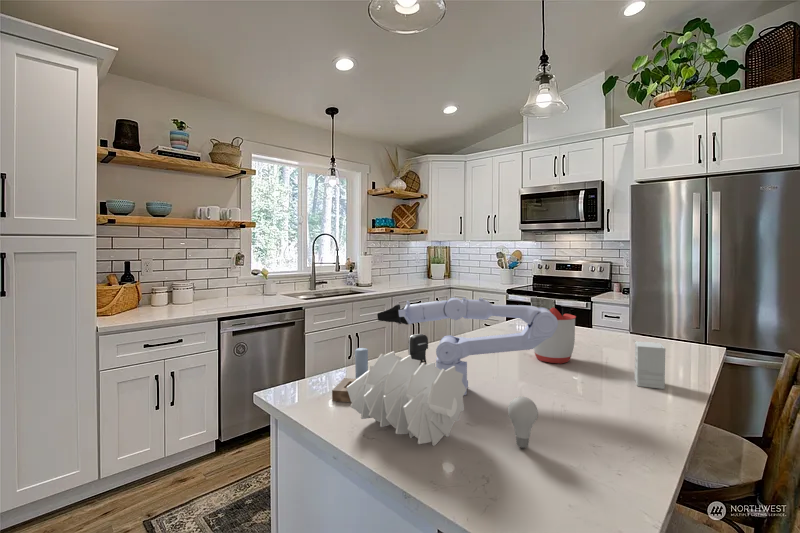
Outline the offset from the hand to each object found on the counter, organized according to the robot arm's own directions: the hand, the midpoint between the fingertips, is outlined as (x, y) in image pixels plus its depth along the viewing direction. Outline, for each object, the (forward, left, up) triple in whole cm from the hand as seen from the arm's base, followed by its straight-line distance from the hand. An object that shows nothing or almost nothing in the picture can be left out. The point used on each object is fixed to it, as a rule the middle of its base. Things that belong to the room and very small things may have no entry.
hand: (381, 317), depth 124 cm
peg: (+8, -4, -21) cm, 23 cm away
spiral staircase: (-13, +29, -21) cm, 38 cm away
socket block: (+6, +9, -21) cm, 24 cm away
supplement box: (-81, -16, -21) cm, 86 cm away
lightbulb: (-38, +32, -21) cm, 55 cm away
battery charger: (-8, -22, -21) cm, 32 cm away
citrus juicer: (-57, -40, -21) cm, 73 cm away
